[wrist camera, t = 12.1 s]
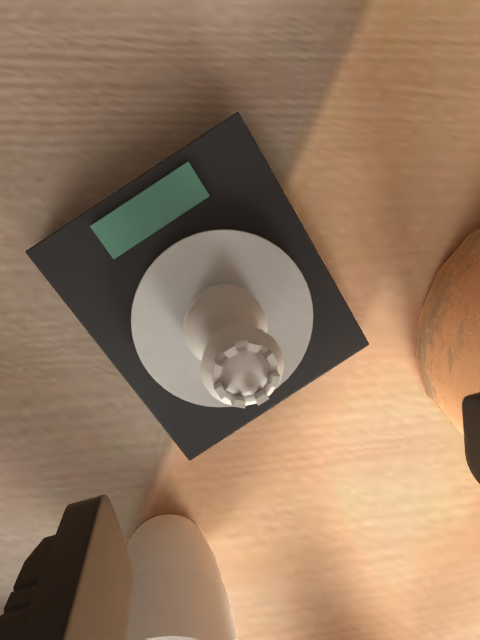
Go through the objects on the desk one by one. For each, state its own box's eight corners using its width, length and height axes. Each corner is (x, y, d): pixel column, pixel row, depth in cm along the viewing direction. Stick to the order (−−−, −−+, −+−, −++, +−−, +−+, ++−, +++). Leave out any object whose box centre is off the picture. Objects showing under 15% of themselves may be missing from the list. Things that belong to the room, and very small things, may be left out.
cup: (112, 601, 29) (80, 787, 20) (100, 500, 28) (58, 653, 18) (227, 585, 31) (249, 754, 21) (223, 487, 29) (246, 624, 19)
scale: (37, 248, 23) (18, 253, 21) (233, 119, 23) (240, 107, 21) (188, 444, 27) (190, 469, 25) (356, 335, 27) (375, 348, 25)
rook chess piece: (274, 344, 24) (321, 405, 16) (200, 373, 23) (211, 450, 16) (248, 269, 22) (284, 298, 15) (169, 300, 22) (165, 344, 15)
